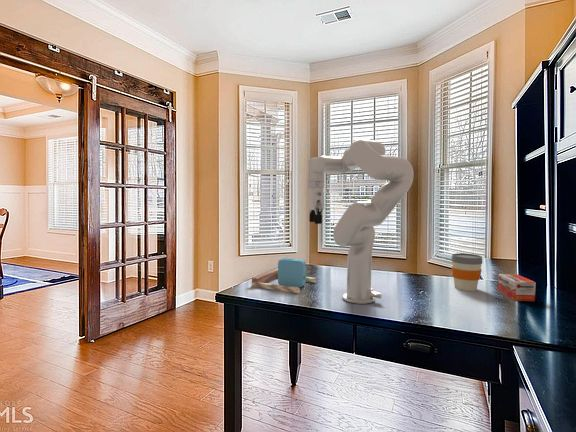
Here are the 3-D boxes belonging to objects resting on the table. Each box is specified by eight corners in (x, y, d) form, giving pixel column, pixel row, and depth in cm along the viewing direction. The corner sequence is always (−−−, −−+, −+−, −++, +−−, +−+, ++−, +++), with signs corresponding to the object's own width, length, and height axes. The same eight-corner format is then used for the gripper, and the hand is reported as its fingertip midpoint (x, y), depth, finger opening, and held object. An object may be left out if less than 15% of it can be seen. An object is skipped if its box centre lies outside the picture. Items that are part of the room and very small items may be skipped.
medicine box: (497, 290, 160) (497, 273, 159) (516, 291, 159) (517, 273, 158) (514, 301, 145) (515, 281, 144) (536, 302, 144) (537, 282, 143)
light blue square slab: (305, 285, 165) (305, 259, 164) (302, 287, 161) (303, 261, 160) (281, 282, 169) (281, 257, 168) (277, 285, 165) (277, 259, 164)
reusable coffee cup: (449, 289, 160) (450, 256, 159) (451, 283, 171) (452, 252, 170) (481, 293, 154) (482, 259, 153) (481, 287, 165) (482, 254, 164)
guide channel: (316, 282, 171) (316, 273, 170) (298, 293, 152) (298, 284, 152) (273, 276, 181) (273, 268, 180) (251, 286, 162) (251, 277, 162)
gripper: (329, 185, 155) (328, 224, 157) (319, 185, 172) (318, 221, 174) (312, 184, 154) (312, 224, 155) (303, 185, 171) (303, 221, 172)
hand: (315, 222), depth 164 cm, fingers open, 9 cm apart
